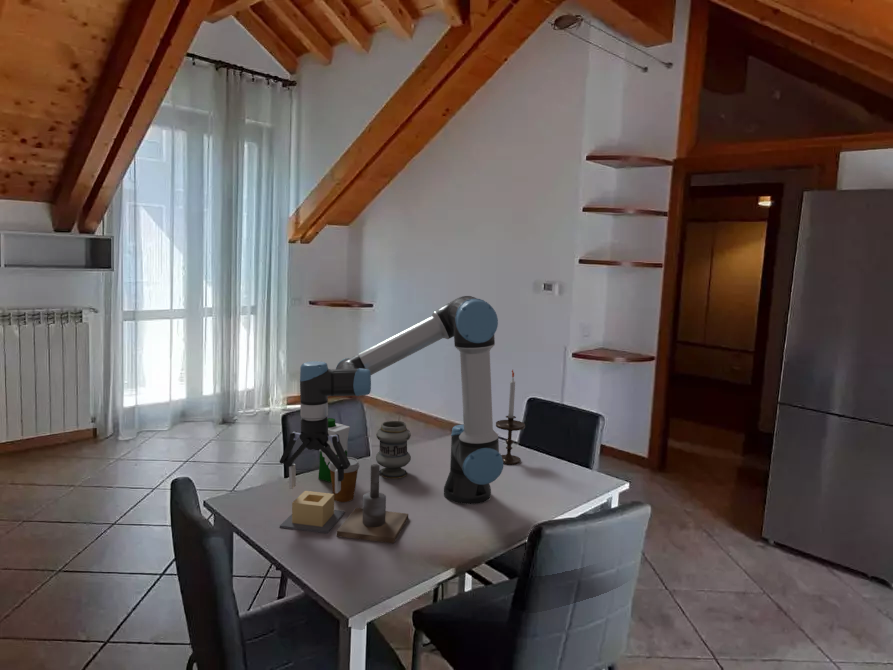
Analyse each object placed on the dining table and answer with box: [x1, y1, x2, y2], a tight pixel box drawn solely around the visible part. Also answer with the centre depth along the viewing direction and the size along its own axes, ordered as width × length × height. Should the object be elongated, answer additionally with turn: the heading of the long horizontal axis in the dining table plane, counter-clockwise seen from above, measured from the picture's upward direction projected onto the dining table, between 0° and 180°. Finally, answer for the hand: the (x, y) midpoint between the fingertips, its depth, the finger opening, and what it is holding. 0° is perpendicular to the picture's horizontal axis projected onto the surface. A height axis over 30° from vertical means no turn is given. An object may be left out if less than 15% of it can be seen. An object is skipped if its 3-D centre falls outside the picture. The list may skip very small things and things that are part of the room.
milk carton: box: [318, 417, 351, 484], centre depth 213 cm, size 9×9×20 cm
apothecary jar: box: [375, 420, 412, 480], centre depth 220 cm, size 12×12×18 cm
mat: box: [279, 509, 346, 534], centre depth 182 cm, size 14×14×1 cm
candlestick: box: [495, 369, 526, 466], centre depth 236 cm, size 11×11×35 cm
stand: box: [336, 463, 409, 544], centre depth 178 cm, size 16×16×18 cm
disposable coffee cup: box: [329, 456, 360, 503], centre depth 197 cm, size 10×10×12 cm
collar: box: [291, 490, 335, 527], centre depth 182 cm, size 9×9×6 cm
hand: (315, 489), depth 181 cm, fingers open, 13 cm apart
